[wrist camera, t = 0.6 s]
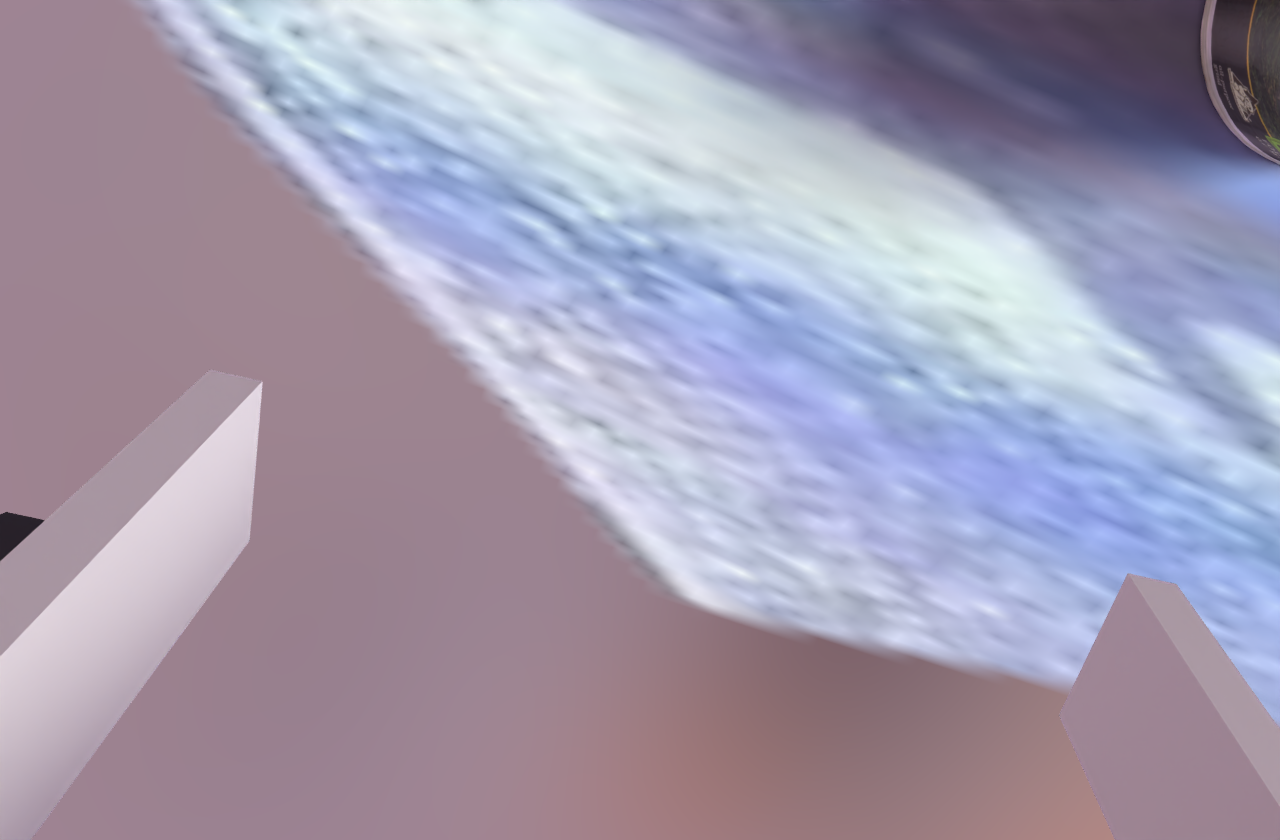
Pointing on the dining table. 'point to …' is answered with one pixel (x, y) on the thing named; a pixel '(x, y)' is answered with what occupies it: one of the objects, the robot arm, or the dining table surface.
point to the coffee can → (1245, 69)
